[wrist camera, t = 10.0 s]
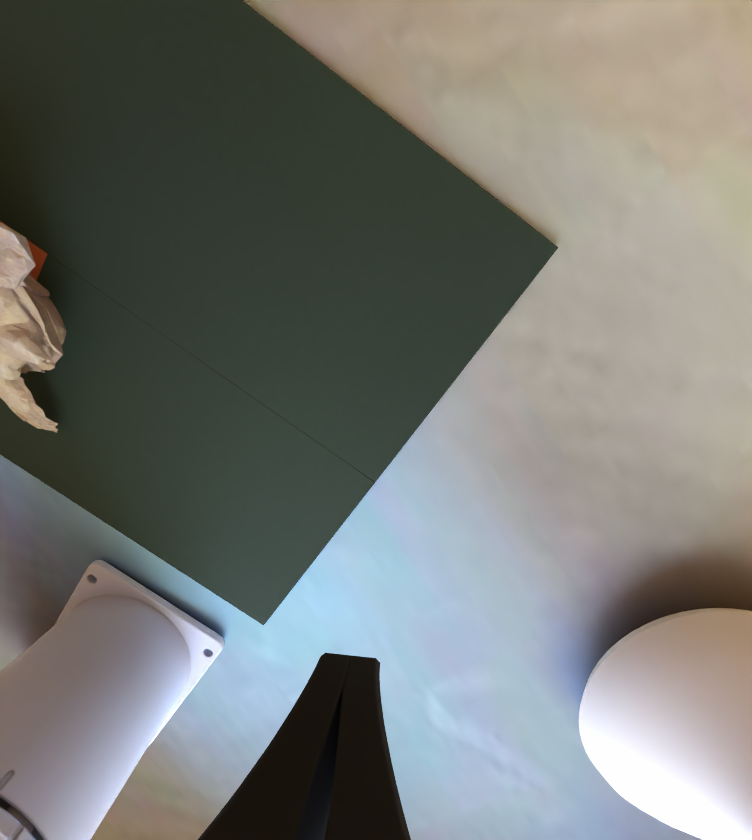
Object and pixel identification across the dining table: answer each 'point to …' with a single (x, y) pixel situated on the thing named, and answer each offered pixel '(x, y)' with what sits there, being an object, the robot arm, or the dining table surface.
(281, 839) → the robot arm
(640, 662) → the flower in vase
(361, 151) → the play mat
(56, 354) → the beige animal figurine
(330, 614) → the dining table surface
